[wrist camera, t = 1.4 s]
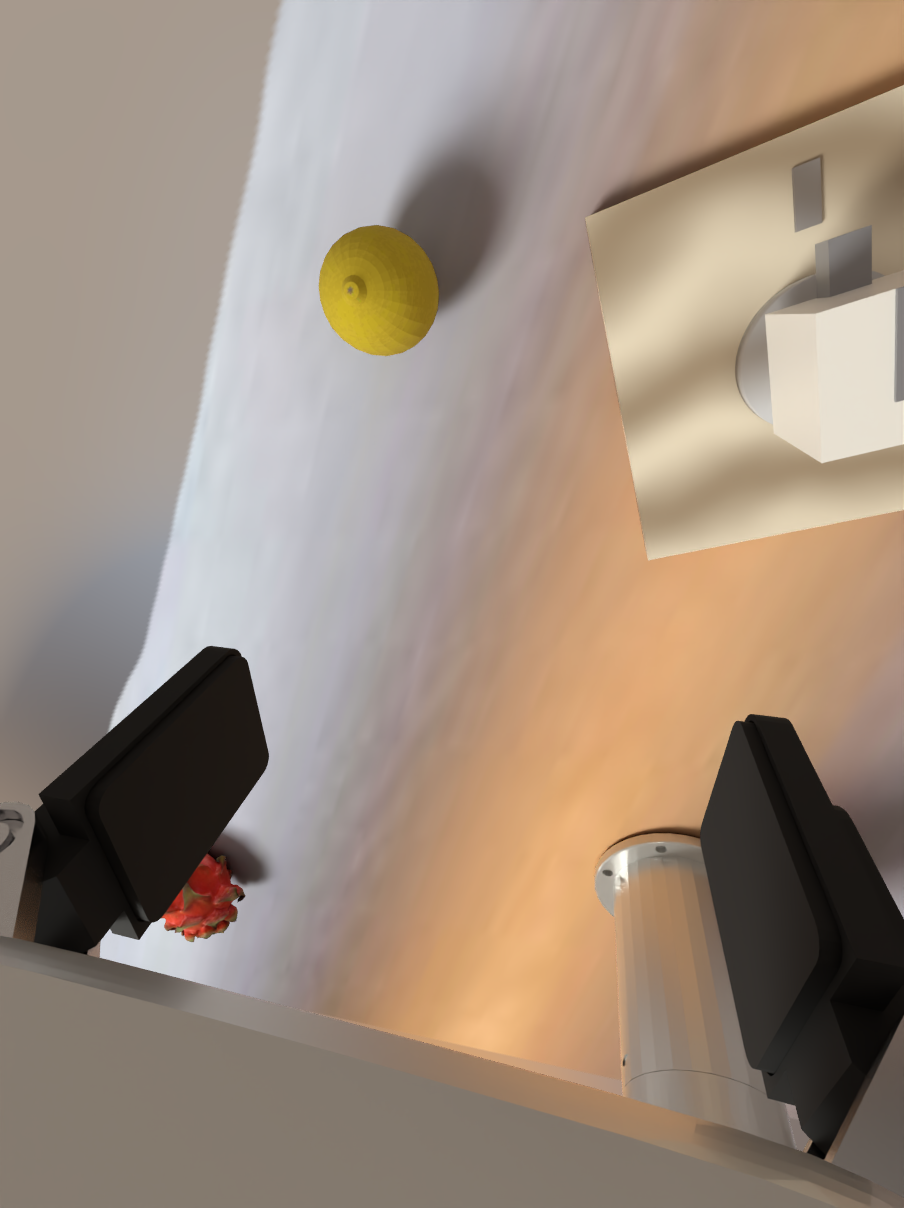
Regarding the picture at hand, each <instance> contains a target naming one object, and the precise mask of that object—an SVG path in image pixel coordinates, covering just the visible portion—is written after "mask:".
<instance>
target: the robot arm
mask: <svg viewBox="0 0 904 1208" xmlns="http://www.w3.org/2000/svg"><path fill="white" fill-rule="evenodd" d="M268 760H269V753H268V748H267V744H266V740H265V735H264V731H263V727H262V722H261V718H260V714H259V709H258V705H257V701H256V696H255V692H254V688H253V683H252V679H251V674H250V670H249V666H248V662H247V660H246V659H245V658H244V657H242V656H241V654H240V652H239V651H238V650H236V649H231V648H223V647H215V646H208V647H206V648H204V649H203V650H202V651H201V652H199V653H198V654H197V655H196V656H195V657H194V658H193V659H192V660H190V661H189V662H188V663H187V664H186V665H185V666H184V667H182V668H181V669H180V670H179V671H178V672H177V673H176V674H174V675H173V676H172V677H171V678H170V679H169V680H168V681H167V682H165V683H164V684H163V685H162V686H161V687H160V688H159V689H157V690H156V691H155V692H154V693H153V694H152V695H151V696H150V697H148V698H147V699H146V700H145V701H144V702H143V703H142V704H140V705H139V706H138V707H137V708H136V709H135V710H134V711H132V712H131V713H130V714H129V715H128V716H127V717H126V718H125V719H123V720H122V721H121V722H120V723H119V724H118V725H117V726H115V727H114V728H113V729H112V730H111V731H110V732H109V733H108V734H106V735H105V736H104V737H103V738H102V739H101V740H100V741H98V742H97V743H96V744H95V745H94V746H93V747H92V748H91V749H89V750H88V751H87V752H86V753H85V754H84V755H83V756H81V757H80V758H79V759H78V760H77V761H76V762H75V763H74V764H72V765H71V766H70V767H69V768H68V769H67V770H66V771H64V772H63V773H62V774H61V775H60V776H59V777H58V778H57V779H55V780H54V781H53V782H52V783H51V784H50V785H49V786H48V787H46V788H45V789H44V790H43V791H42V792H41V793H40V794H39V796H40V798H41V800H42V802H43V804H42V805H41V806H40V807H39V808H38V809H37V810H36V811H35V812H34V810H33V809H32V808H31V807H30V806H29V805H27V804H23V803H20V802H4V803H0V1208H904V919H903V917H902V915H901V913H900V911H899V909H898V907H897V905H896V903H895V901H894V900H893V898H892V896H891V894H890V892H889V890H888V888H887V886H886V884H885V882H884V880H883V878H882V877H881V875H880V873H879V871H878V869H877V867H876V865H875V863H874V861H873V859H872V857H871V856H870V854H869V852H868V850H867V848H866V846H865V844H864V842H863V840H862V838H861V836H860V834H859V833H858V831H857V829H856V827H855V825H854V823H853V821H852V819H851V818H850V816H849V815H848V814H847V812H846V811H845V810H844V809H842V808H841V807H840V806H833V805H832V803H831V801H830V799H829V797H828V795H827V793H826V791H825V789H824V787H823V785H822V783H821V781H820V779H819V777H818V775H817V773H816V771H815V769H814V767H813V765H812V763H811V761H810V759H809V757H808V755H807V753H806V751H805V749H804V747H803V745H802V743H801V741H800V739H799V737H798V735H797V733H796V731H795V729H794V727H793V725H792V724H791V722H790V721H789V720H788V719H786V718H778V717H771V716H763V715H755V714H750V715H748V717H747V718H746V720H745V722H743V721H736V722H735V723H734V725H733V728H732V731H731V734H730V737H729V740H728V743H727V747H726V750H725V753H724V756H723V759H722V762H721V765H720V769H719V772H718V775H717V778H716V781H715V784H714V787H713V791H712V794H711V797H710V800H709V803H708V806H707V809H706V813H705V816H704V819H703V822H702V826H701V832H700V839H699V838H695V837H691V836H687V835H680V834H672V833H653V834H646V835H639V836H636V837H632V838H629V839H626V840H624V841H622V842H619V843H617V844H615V845H614V846H612V847H611V848H610V849H608V850H607V851H606V852H605V853H604V854H603V855H602V857H601V858H600V859H599V861H598V863H597V865H596V869H595V890H596V893H597V897H598V899H599V900H600V902H601V904H602V905H603V907H604V908H605V909H606V910H607V911H608V912H609V913H610V914H611V915H612V916H614V920H615V942H616V964H617V987H618V1009H619V1032H620V1054H621V1076H622V1096H620V1095H617V1094H613V1093H609V1092H606V1091H602V1090H598V1089H594V1088H591V1087H587V1086H584V1085H580V1084H576V1083H572V1082H569V1081H565V1080H561V1079H558V1078H554V1077H550V1076H547V1075H543V1074H539V1073H535V1072H532V1071H528V1070H524V1069H521V1068H517V1067H513V1066H509V1065H506V1064H502V1063H498V1062H495V1061H491V1060H487V1059H483V1058H480V1057H476V1056H472V1055H469V1054H465V1053H461V1052H457V1051H453V1050H450V1049H446V1048H442V1047H439V1046H435V1045H431V1044H428V1043H424V1042H420V1041H416V1040H413V1039H409V1038H405V1037H401V1036H398V1035H393V1034H390V1033H386V1032H382V1031H378V1030H375V1029H371V1028H367V1027H363V1026H360V1025H356V1024H352V1023H348V1022H344V1021H341V1020H337V1019H333V1018H329V1017H326V1016H322V1015H318V1014H314V1013H310V1012H307V1011H303V1010H299V1009H295V1008H291V1007H288V1006H284V1005H280V1004H276V1003H272V1002H269V1001H265V1000H261V999H257V998H253V997H250V996H246V995H242V994H238V993H234V992H230V991H227V990H223V989H219V988H215V987H211V986H207V985H203V984H199V983H195V982H192V981H188V980H184V979H180V978H176V977H172V976H168V975H164V974H161V973H157V972H153V971H149V970H145V969H141V968H137V967H133V966H129V965H126V964H122V963H118V962H114V961H110V960H106V959H102V958H99V957H100V941H101V939H102V938H103V937H104V935H105V934H106V933H107V932H108V930H109V929H111V931H112V933H114V934H118V935H122V936H125V937H129V938H133V939H137V940H139V939H140V938H141V937H142V935H143V934H144V932H145V931H146V930H147V928H148V927H149V925H150V924H151V923H152V922H156V921H158V920H159V919H160V918H161V917H162V916H163V915H164V914H165V913H166V911H167V910H168V908H169V907H170V906H171V904H172V903H173V901H174V900H175V898H176V897H177V896H178V894H179V893H180V891H181V890H182V888H183V887H184V886H185V884H186V883H187V881H188V880H189V878H190V877H191V876H192V874H193V873H194V871H195V870H196V868H197V867H198V866H199V864H200V863H201V861H202V860H203V858H204V857H205V856H206V854H207V853H208V851H209V850H210V848H211V847H212V846H213V844H214V843H215V841H216V840H217V838H218V837H219V836H220V834H221V833H222V831H223V830H224V828H225V827H226V826H227V824H228V823H229V821H230V820H231V818H232V817H233V816H234V814H235V813H236V811H237V810H238V808H239V807H240V806H241V804H242V803H243V801H244V800H245V798H246V797H247V796H248V794H249V793H250V791H251V790H252V788H253V787H254V786H255V784H256V783H257V781H258V780H259V778H260V777H261V776H262V774H263V773H264V771H265V769H266V767H267V764H268ZM785 1103H787V1104H791V1105H795V1106H796V1110H797V1114H798V1118H799V1121H800V1125H801V1129H802V1130H803V1131H804V1132H805V1133H806V1135H807V1136H808V1137H809V1138H810V1139H809V1141H808V1142H807V1144H806V1146H805V1148H804V1150H803V1152H802V1151H799V1150H797V1148H796V1144H795V1141H794V1136H793V1132H792V1129H791V1124H790V1121H789V1117H788V1113H787V1109H786V1105H785Z"/></svg>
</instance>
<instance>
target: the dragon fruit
mask: <svg viewBox="0 0 904 1208" xmlns="http://www.w3.org/2000/svg"><path fill="white" fill-rule="evenodd" d="M225 858H227V857H225V856H220V857H218V858H217V861H216V860H215V859H214V858H213V857H211V856H210V855H209V854H206V856H205V857H204V858H203V860H202V861H201V863H200V864H199V866H198V867H197V868H196V870H195V871H194V873H193V874H192V876H191V877H190V878H189V880H188V881H187V883H186V884H185V886H184V887H183V888H182V890H181V891H180V893H179V894H178V896H177V897H176V898H175V900H174V901H173V903H172V904H171V906H170V907H169V908H168V910H167V911H166V913H165V914H164V915H163V916H162V917H161V918H165V919H166V923H165V925H164V927H165V929H166V930H167V931H169V930H175V933H177V932H181V934H182V936H183V935H184V934H185V935H184V936H185V939H186V940H187V941H190V942H194V937H195V936H196V937H197V938H204V939H207V938H209V937H210V936H211V935H212V934H216V933H224V931H225V930H226V929H227V928H228V926H229V924H230V922H235V921H236V919H237V913H238V911H237V908H236V907H235V906H233V905H232V904H231V903H232V901H233V900H235V899H237V898H238V897H239V896H240V897H239V899H238V902H239V901H241V900H243V899H244V897H245V894H244V892H243V889H242V888H241V887H239V886H238V885H233V884H231V881H230V879H231V877H232V870H230V869H228V870H227V867H226V861H225ZM238 902H237V903H238ZM229 921H230V922H229Z"/></svg>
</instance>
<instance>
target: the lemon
mask: <svg viewBox="0 0 904 1208" xmlns="http://www.w3.org/2000/svg"><path fill="white" fill-rule="evenodd" d="M319 292H320V301H321V304H322V307H323V310H324V313H325V316H326V317H327V319H328V321H329V323H330V325H331V327H332V328H333V329H334V330H335V331H336V333H337V334H338V335H339V336H340V337H341V338H342V339H343V340H344V341H346V342H347V343H349V344H350V345H351V346H353V347H354V348H356V349H358V350H361V351H363V352H366V353H369V354H372V355H382V356H389V355H394V354H399V353H403V352H405V351H406V350H408V349H410V348H412V347H414V346H415V345H417V344H418V343H419V342H420V341H421V340H422V339H423V338H424V337H425V336H426V334H427V333H428V331H429V329H430V327H431V326H432V324H433V322H434V319H435V316H436V313H437V310H438V300H439V290H438V282H437V277H436V274H435V271H434V268H433V265H432V263H431V261H430V260H429V258H428V257H427V255H426V253H425V252H424V250H423V249H422V248H421V247H420V246H419V245H418V244H417V243H416V242H415V241H414V240H413V239H412V238H411V237H409V236H407V235H406V234H404V233H402V232H400V231H398V230H396V229H394V228H390V227H385V226H380V225H373V226H366V227H360V228H357V229H355V230H353V231H351V232H349V233H347V234H344V235H343V236H342V237H341V238H340V239H339V240H338V241H337V242H336V243H334V244H333V245H332V247H331V248H330V250H329V252H328V253H327V255H326V257H325V259H324V262H323V265H322V268H321V271H320V279H319Z"/></svg>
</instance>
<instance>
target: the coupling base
mask: <svg viewBox="0 0 904 1208" xmlns="http://www.w3.org/2000/svg"><path fill="white" fill-rule="evenodd" d="M585 222H586V228H587V233H588V239H589V244H590V250H591V255H592V260H593V266H594V271H595V277H596V282H597V288H598V293H599V298H600V304H601V309H602V315H603V320H604V326H605V331H606V337H607V342H608V347H609V353H610V358H611V364H612V369H613V375H614V380H615V385H616V391H617V396H618V402H619V407H620V413H621V418H622V424H623V429H624V434H625V440H626V445H627V451H628V456H629V462H630V467H631V472H632V478H633V483H634V489H635V494H636V500H637V505H638V511H639V516H640V521H641V527H642V532H643V538H644V543H645V549H646V553H647V557H648V560H653V559H658V558H663V557H668V556H673V555H678V554H683V553H688V552H693V551H698V550H703V549H708V548H713V547H718V546H723V545H729V544H734V543H739V542H744V541H749V540H754V539H759V538H764V537H769V536H774V535H779V534H784V533H789V532H794V531H799V530H804V529H810V528H815V527H820V526H825V525H830V524H835V523H840V522H845V521H850V520H855V519H860V518H865V517H870V516H875V515H880V514H885V513H891V512H896V511H901V510H904V444H903V445H898V446H894V447H890V448H885V449H881V450H877V451H872V452H868V453H864V454H859V455H855V456H851V457H846V458H842V459H838V460H833V461H829V462H825V463H820V462H819V461H817V460H816V459H814V458H812V457H811V456H809V455H808V454H806V453H804V452H803V451H801V450H800V449H798V448H796V447H795V446H793V445H792V444H790V443H788V442H787V441H785V440H784V439H782V438H780V437H779V436H777V435H775V434H774V430H773V417H772V403H771V390H770V377H769V363H768V350H767V336H766V323H765V314H768V313H771V312H774V311H778V310H781V309H784V308H787V307H790V306H793V305H796V304H799V303H802V302H806V301H809V300H812V299H815V298H817V286H816V260H815V244H817V243H820V242H823V241H826V240H829V239H832V238H834V237H837V236H840V235H843V234H846V233H849V232H852V231H854V230H857V229H861V228H864V227H867V226H870V225H872V280H874V279H877V278H880V277H883V276H887V275H890V274H893V273H896V272H899V271H902V270H904V85H902V86H900V87H898V88H895V89H893V90H890V91H888V92H886V93H883V94H881V95H878V96H876V97H874V98H871V99H869V100H866V101H864V102H862V103H859V104H857V105H854V106H852V107H850V108H847V109H845V110H842V111H840V112H838V113H835V114H833V115H830V116H828V117H826V118H823V119H821V120H818V121H816V122H813V123H811V124H809V125H806V126H804V127H801V128H799V129H797V130H794V131H792V132H789V133H787V134H785V135H782V136H780V137H777V138H775V139H773V140H770V141H768V142H765V143H763V144H761V145H758V146H756V147H753V148H751V149H749V150H746V151H744V152H741V153H739V154H737V155H734V156H732V157H729V158H727V159H725V160H722V161H720V162H717V163H715V164H713V165H710V166H708V167H705V168H703V169H701V170H698V171H696V172H693V173H691V174H689V175H686V176H684V177H681V178H679V179H677V180H674V181H672V182H669V183H667V184H665V185H662V186H660V187H657V188H655V189H652V190H650V191H648V192H645V193H643V194H640V195H638V196H636V197H633V198H631V199H628V200H626V201H624V202H621V203H619V204H616V205H614V206H612V207H609V208H607V209H604V210H602V211H600V212H597V213H595V214H592V215H590V216H588V217H585Z"/></svg>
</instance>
